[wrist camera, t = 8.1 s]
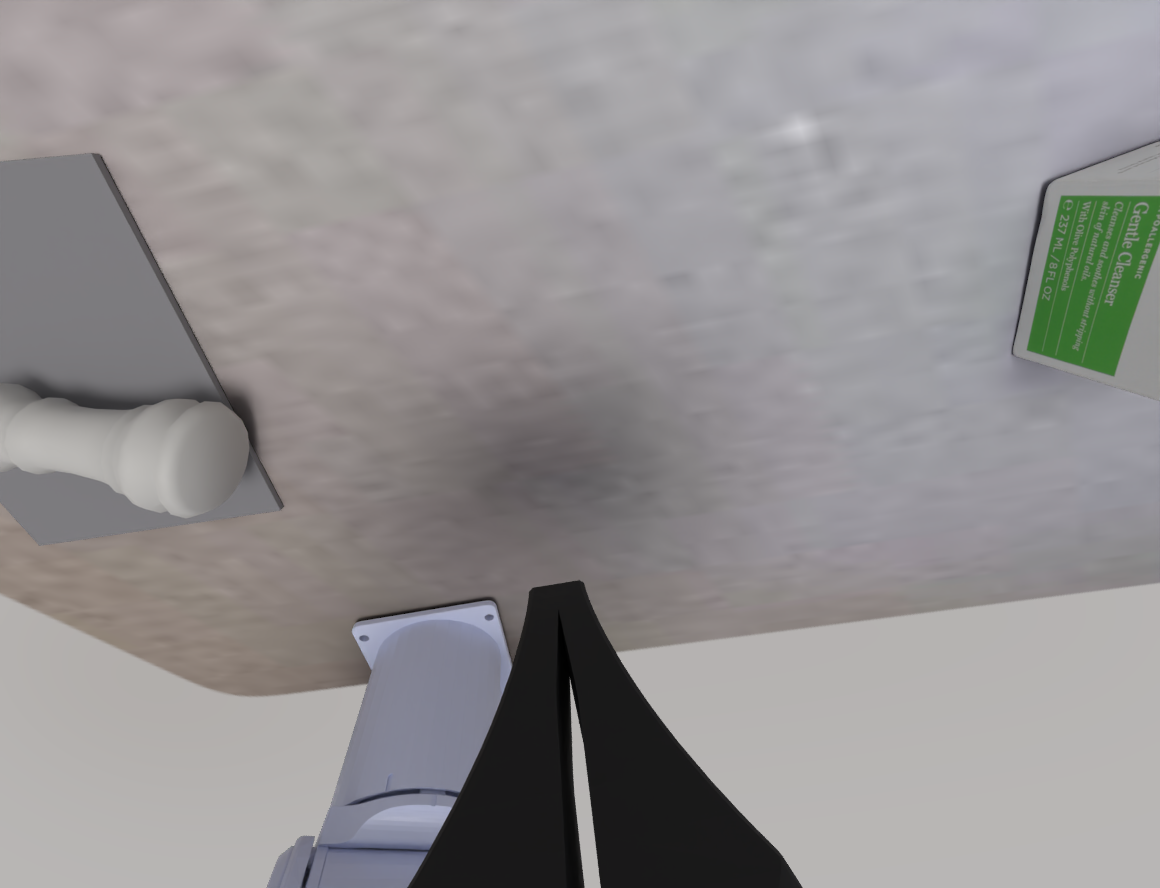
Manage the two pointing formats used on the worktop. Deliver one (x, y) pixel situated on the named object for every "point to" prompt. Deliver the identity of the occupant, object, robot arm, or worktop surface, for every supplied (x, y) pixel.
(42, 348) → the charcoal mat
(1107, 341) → the skincare box
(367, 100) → the worktop surface
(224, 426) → the rook chess piece
